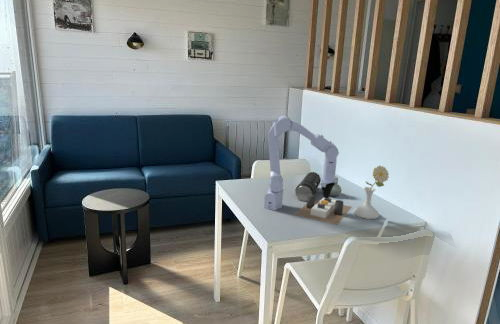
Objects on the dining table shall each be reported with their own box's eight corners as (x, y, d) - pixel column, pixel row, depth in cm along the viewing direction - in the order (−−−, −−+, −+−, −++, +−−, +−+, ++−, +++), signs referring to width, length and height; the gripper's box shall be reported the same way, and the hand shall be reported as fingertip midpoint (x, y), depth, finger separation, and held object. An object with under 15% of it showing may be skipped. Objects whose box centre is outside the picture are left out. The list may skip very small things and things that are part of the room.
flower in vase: (355, 220, 164) (362, 167, 158) (351, 211, 175) (358, 160, 169) (385, 223, 162) (393, 169, 156) (379, 213, 173) (387, 163, 167)
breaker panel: (336, 227, 156) (338, 215, 154) (293, 216, 165) (294, 205, 163) (351, 208, 178) (352, 198, 176) (312, 200, 187) (313, 190, 186)
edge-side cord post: (340, 215, 166) (342, 203, 164) (333, 214, 167) (334, 201, 166) (342, 213, 169) (344, 201, 167) (335, 211, 170) (336, 199, 169)
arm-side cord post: (312, 209, 172) (313, 197, 170) (305, 207, 174) (306, 195, 172) (315, 207, 175) (316, 195, 173) (308, 205, 177) (309, 193, 175)
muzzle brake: (304, 187, 210) (321, 187, 207) (293, 202, 184) (313, 202, 181) (302, 171, 209) (320, 171, 205) (291, 184, 183) (312, 184, 179)
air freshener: (319, 191, 201) (320, 174, 199) (332, 190, 204) (334, 173, 201) (329, 198, 191) (331, 180, 189) (342, 197, 194) (344, 179, 191)
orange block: (327, 205, 169) (327, 202, 169) (321, 203, 170) (321, 200, 170) (328, 204, 170) (328, 201, 170) (322, 202, 172) (322, 199, 171)
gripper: (333, 174, 160) (330, 203, 163) (342, 168, 172) (338, 195, 176) (317, 172, 163) (315, 200, 166) (327, 165, 175) (324, 192, 179)
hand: (326, 197), depth 171 cm, fingers closed
